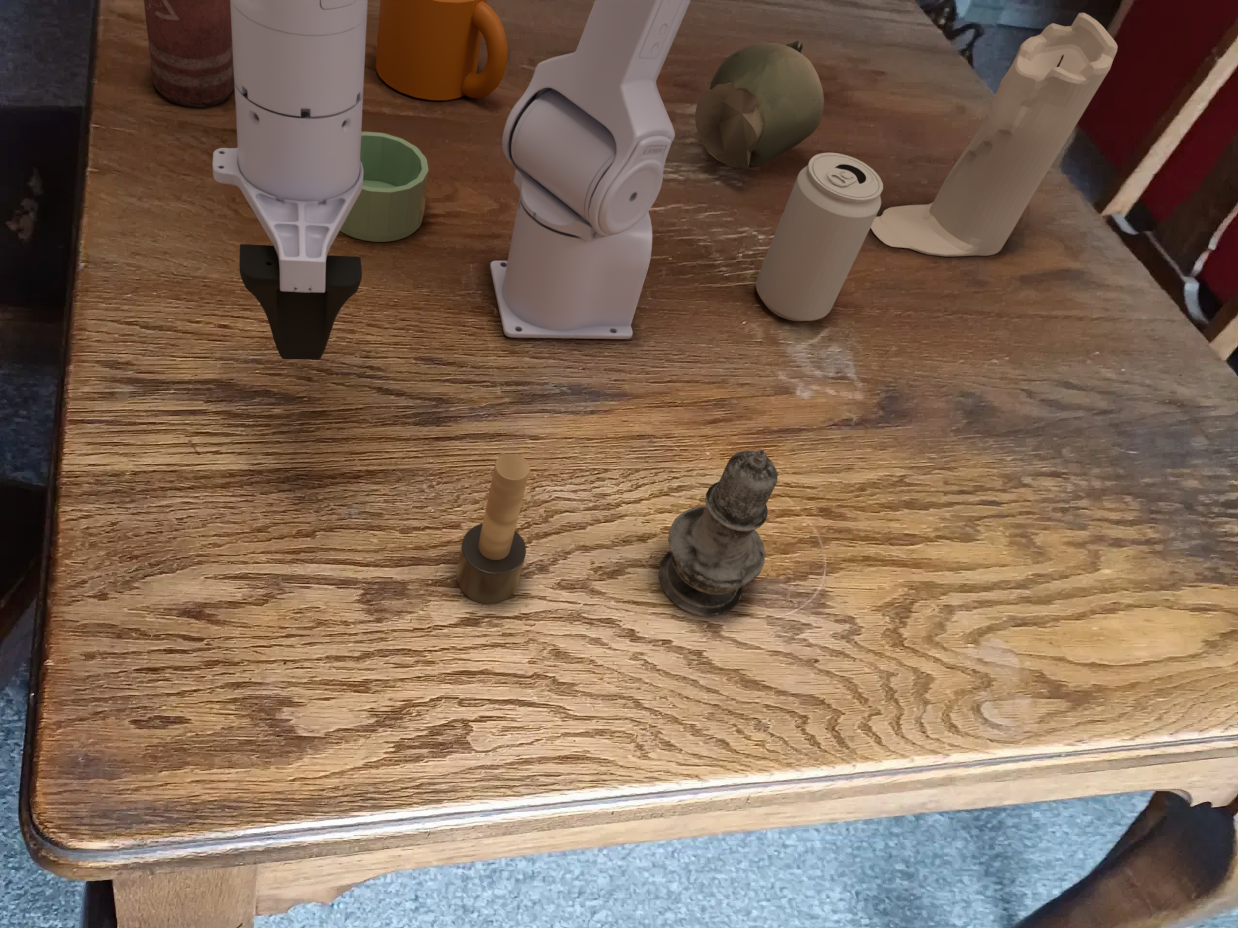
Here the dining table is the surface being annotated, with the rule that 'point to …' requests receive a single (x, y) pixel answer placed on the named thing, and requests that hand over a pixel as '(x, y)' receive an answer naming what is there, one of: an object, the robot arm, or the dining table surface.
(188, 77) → the can
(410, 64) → the mug
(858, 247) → the beverage can
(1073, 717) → the dining table surface
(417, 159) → the pot
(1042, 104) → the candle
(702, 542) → the chess piece
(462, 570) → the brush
